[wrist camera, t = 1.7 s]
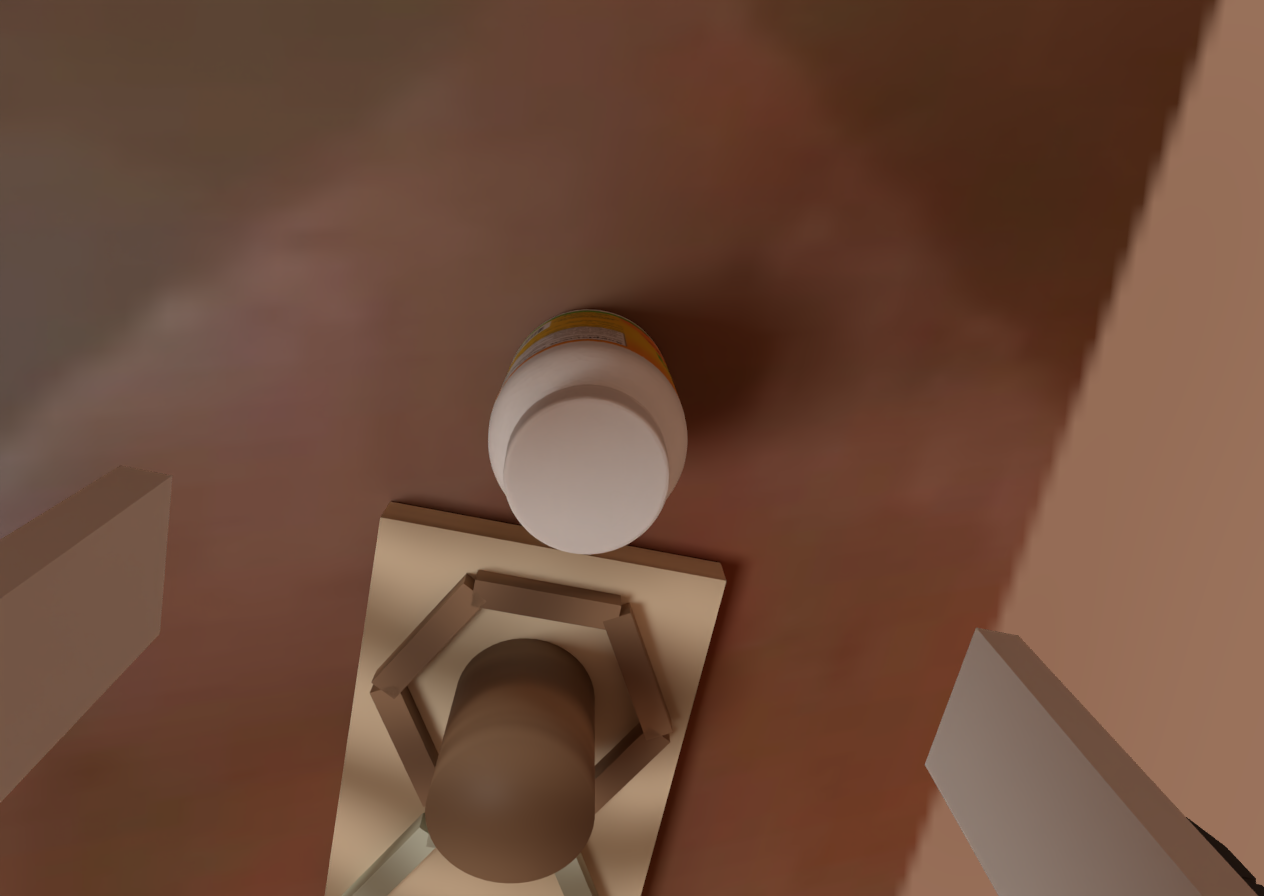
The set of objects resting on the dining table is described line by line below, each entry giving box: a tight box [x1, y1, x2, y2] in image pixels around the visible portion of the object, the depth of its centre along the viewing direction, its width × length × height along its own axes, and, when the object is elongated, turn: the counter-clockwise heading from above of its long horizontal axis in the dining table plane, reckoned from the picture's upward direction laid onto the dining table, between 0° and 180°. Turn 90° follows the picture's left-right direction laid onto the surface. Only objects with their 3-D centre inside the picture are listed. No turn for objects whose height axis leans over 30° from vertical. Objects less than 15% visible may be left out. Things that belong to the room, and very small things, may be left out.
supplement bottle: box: [488, 309, 688, 555], centre depth 26 cm, size 5×5×10 cm
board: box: [325, 502, 726, 896], centre depth 34 cm, size 22×12×2 cm, turn 168°
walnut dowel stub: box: [425, 638, 595, 883], centre depth 29 cm, size 5×5×6 cm
